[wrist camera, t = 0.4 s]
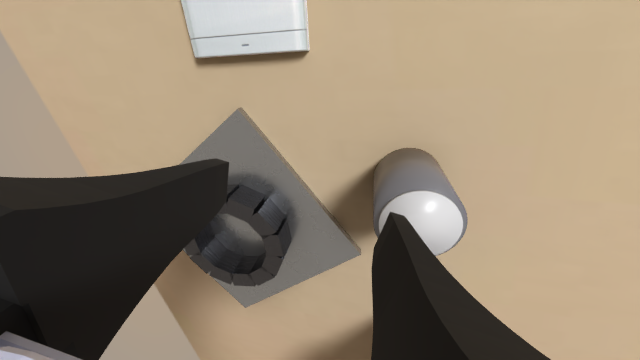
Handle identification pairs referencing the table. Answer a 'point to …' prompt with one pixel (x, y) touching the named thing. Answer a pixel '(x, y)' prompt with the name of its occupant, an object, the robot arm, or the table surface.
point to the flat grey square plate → (263, 219)
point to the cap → (419, 198)
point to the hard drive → (246, 26)
